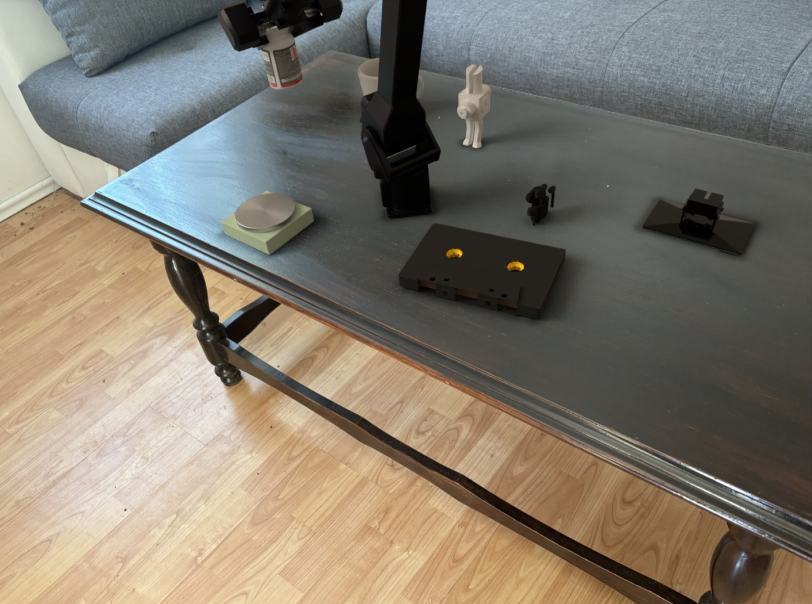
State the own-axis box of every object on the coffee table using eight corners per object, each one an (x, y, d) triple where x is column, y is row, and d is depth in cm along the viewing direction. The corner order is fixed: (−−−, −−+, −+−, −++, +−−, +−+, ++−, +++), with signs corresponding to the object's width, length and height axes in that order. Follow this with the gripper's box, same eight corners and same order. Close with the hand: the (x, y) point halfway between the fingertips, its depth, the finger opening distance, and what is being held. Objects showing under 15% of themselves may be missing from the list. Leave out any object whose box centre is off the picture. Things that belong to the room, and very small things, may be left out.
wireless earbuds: (530, 234, 87) (533, 202, 84) (514, 228, 88) (516, 196, 85) (556, 208, 91) (559, 176, 87) (540, 202, 92) (543, 171, 88)
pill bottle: (307, 76, 113) (295, 15, 106) (297, 91, 109) (284, 29, 102) (275, 76, 114) (261, 16, 107) (265, 91, 110) (250, 29, 103)
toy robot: (496, 133, 106) (498, 59, 98) (473, 156, 102) (473, 80, 93) (475, 128, 108) (475, 55, 99) (451, 150, 104) (449, 75, 95)
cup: (427, 100, 116) (424, 55, 110) (423, 123, 110) (420, 76, 105) (367, 102, 117) (361, 57, 111) (360, 124, 112) (354, 78, 106)
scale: (271, 202, 97) (266, 184, 95) (315, 220, 93) (311, 202, 91) (225, 234, 93) (218, 216, 90) (269, 255, 88) (264, 237, 86)
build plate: (754, 226, 85) (766, 195, 82) (739, 257, 81) (750, 227, 78) (659, 200, 90) (666, 171, 87) (640, 229, 86) (647, 199, 83)
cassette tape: (398, 287, 82) (397, 274, 80) (434, 234, 89) (433, 220, 87) (539, 321, 76) (540, 307, 74) (565, 261, 83) (566, 247, 81)
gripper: (320, -85, 95) (300, -19, 110) (201, -54, 89) (197, 12, 103) (356, -15, 96) (331, 42, 111) (241, 21, 90) (231, 77, 104)
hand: (274, 41), depth 107 cm, fingers closed on pill bottle, 6 cm apart
